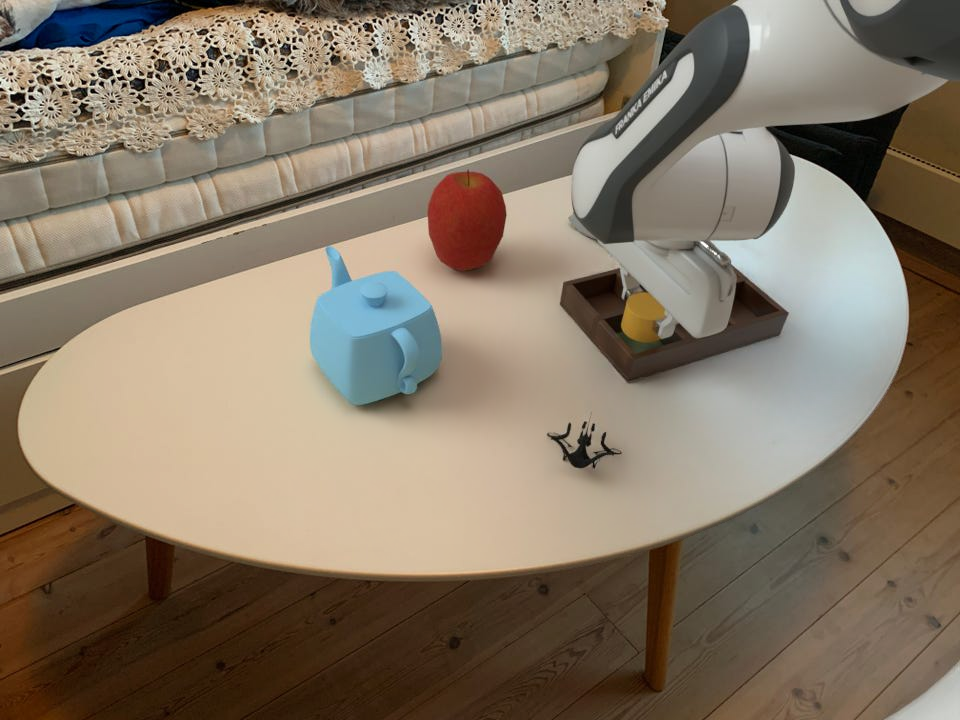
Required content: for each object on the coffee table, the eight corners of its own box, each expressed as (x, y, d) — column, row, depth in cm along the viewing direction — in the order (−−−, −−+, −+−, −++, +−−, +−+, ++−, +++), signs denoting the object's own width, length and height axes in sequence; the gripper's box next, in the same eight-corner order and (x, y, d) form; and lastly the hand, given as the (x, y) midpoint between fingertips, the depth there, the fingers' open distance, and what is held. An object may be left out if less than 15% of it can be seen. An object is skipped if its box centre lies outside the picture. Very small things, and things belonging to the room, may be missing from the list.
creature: (550, 428, 84) (534, 470, 77) (559, 385, 81) (543, 425, 74) (622, 447, 82) (613, 491, 75) (633, 404, 79) (625, 447, 73)
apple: (464, 296, 98) (470, 200, 89) (409, 262, 103) (409, 167, 93) (517, 264, 104) (528, 170, 95) (463, 233, 109) (468, 141, 99)
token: (673, 336, 89) (680, 313, 87) (636, 347, 87) (643, 324, 85) (648, 311, 92) (654, 288, 90) (612, 320, 90) (618, 297, 88)
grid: (780, 335, 96) (789, 313, 94) (627, 382, 88) (633, 359, 86) (702, 267, 106) (709, 245, 104) (559, 304, 98) (563, 281, 96)
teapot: (377, 303, 96) (375, 224, 88) (461, 390, 85) (466, 308, 78) (285, 338, 90) (273, 256, 82) (362, 435, 80) (357, 351, 72)
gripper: (765, 260, 74) (725, 367, 83) (643, 161, 87) (620, 263, 96) (712, 274, 71) (677, 383, 81) (595, 170, 85) (576, 274, 94)
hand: (645, 317), depth 89 cm, fingers closed on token, 5 cm apart
